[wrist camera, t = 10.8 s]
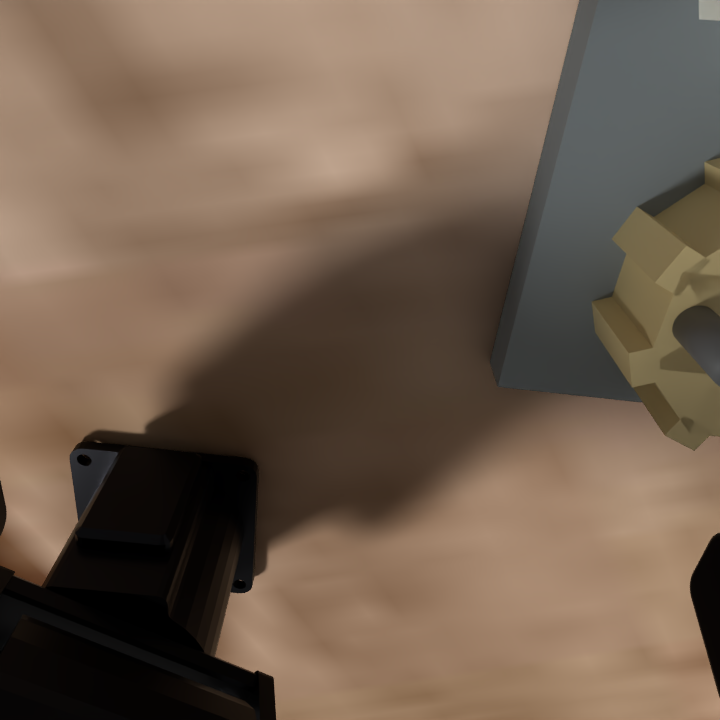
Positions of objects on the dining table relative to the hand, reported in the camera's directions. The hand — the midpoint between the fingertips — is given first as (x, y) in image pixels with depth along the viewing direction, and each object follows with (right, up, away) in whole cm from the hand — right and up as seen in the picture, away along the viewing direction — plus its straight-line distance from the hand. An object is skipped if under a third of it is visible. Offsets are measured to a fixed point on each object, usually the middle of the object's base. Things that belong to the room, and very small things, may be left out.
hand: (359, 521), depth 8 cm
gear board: (+11, +8, +9) cm, 16 cm away
